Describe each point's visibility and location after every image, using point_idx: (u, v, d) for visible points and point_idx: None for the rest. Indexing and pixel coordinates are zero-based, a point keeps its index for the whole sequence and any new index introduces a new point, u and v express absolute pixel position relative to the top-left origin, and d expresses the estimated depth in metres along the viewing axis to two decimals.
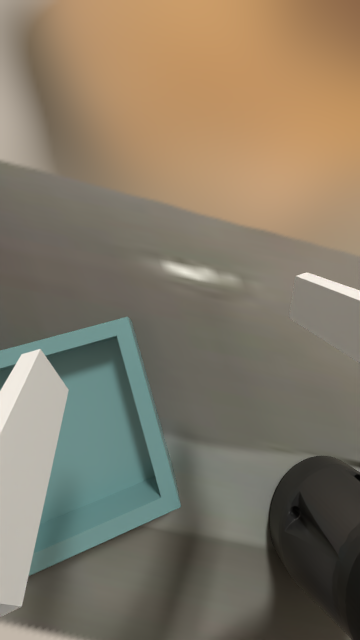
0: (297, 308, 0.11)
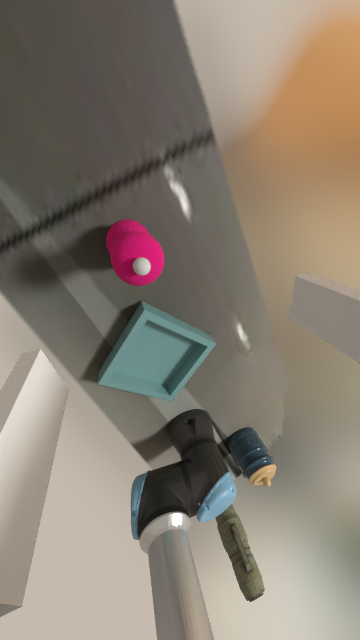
0: (297, 308, 0.11)
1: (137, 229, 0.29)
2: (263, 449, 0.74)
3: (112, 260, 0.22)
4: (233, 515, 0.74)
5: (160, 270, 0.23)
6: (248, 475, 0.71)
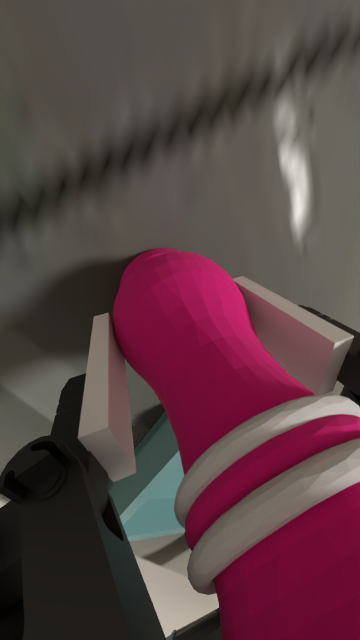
0: None
1: (228, 297, 0.08)
2: None
3: None
4: None
5: None
6: None
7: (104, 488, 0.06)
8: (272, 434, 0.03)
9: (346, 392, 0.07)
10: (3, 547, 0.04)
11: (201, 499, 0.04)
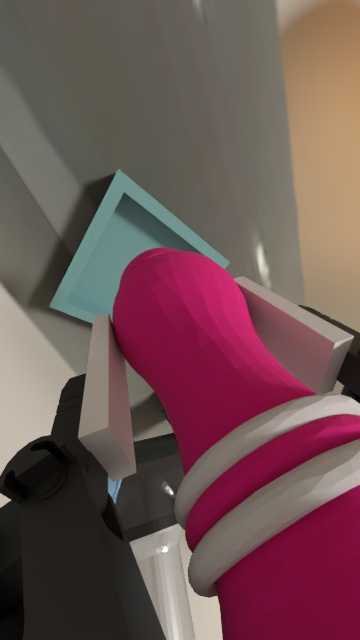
0: None
1: (229, 296, 0.08)
2: None
3: None
4: None
5: None
6: None
7: (104, 488, 0.06)
8: (274, 434, 0.03)
9: (346, 392, 0.07)
10: (3, 547, 0.04)
11: (202, 500, 0.04)
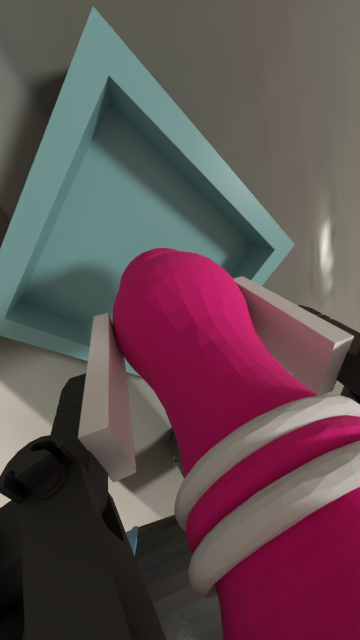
0: None
1: (229, 296, 0.08)
2: None
3: None
4: None
5: None
6: None
7: (104, 488, 0.06)
8: (274, 435, 0.03)
9: (346, 392, 0.07)
10: (3, 547, 0.04)
11: (202, 502, 0.04)
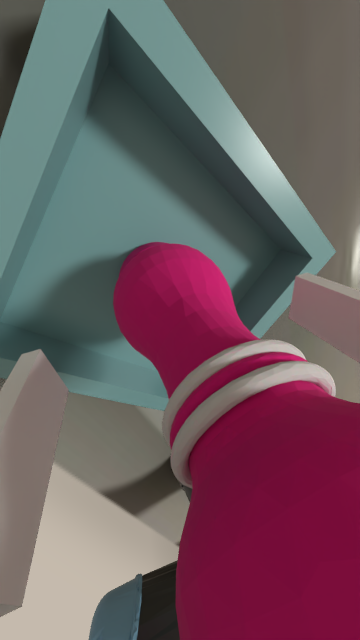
0: (297, 308, 0.11)
1: (212, 280, 0.10)
2: None
3: None
4: None
5: None
6: None
7: None
8: (229, 361, 0.05)
9: None
10: None
11: (180, 409, 0.05)
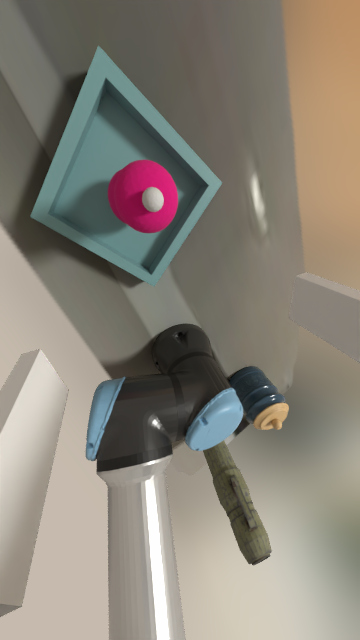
0: (297, 308, 0.11)
1: None
2: (272, 388, 0.59)
3: (116, 194, 0.18)
4: (232, 466, 0.60)
5: (173, 213, 0.19)
6: (253, 416, 0.57)
7: None
8: None
9: None
10: None
11: None
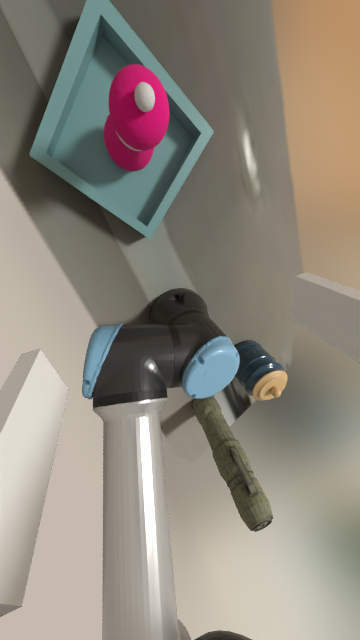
0: (297, 308, 0.11)
1: None
2: (270, 358, 0.59)
3: (110, 99, 0.19)
4: (232, 438, 0.59)
5: (165, 123, 0.20)
6: (252, 385, 0.56)
7: None
8: None
9: None
10: None
11: None
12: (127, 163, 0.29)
